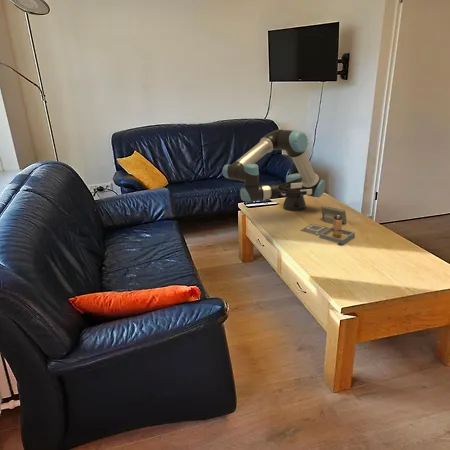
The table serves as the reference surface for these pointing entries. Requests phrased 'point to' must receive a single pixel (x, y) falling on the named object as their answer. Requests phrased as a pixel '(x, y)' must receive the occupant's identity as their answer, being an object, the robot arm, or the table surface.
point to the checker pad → (314, 229)
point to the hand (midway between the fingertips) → (306, 188)
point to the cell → (337, 226)
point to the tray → (339, 241)
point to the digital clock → (332, 214)
